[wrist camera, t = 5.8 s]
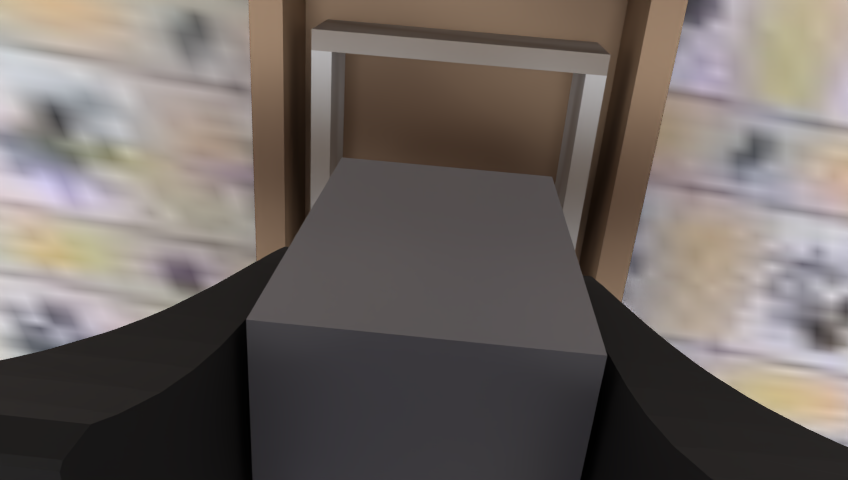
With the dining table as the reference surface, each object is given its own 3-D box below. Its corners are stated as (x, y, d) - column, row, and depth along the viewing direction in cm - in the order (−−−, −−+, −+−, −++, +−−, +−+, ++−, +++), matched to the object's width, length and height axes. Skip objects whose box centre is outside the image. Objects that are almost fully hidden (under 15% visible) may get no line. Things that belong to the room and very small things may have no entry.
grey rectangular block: (523, 354, 15) (552, 606, 9) (337, 335, 15) (256, 573, 9) (551, 176, 13) (606, 355, 8) (341, 157, 13) (245, 320, 8)
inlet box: (585, 342, 23) (600, 398, 20) (285, 312, 23) (259, 363, 20) (664, -53, 18) (699, -49, 15) (280, -84, 18) (246, -86, 15)
